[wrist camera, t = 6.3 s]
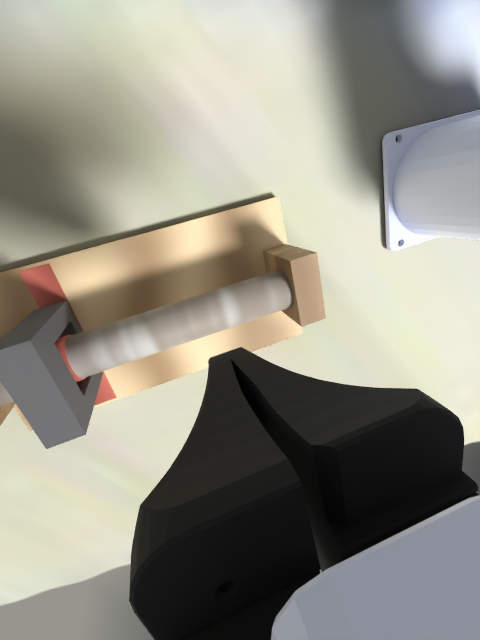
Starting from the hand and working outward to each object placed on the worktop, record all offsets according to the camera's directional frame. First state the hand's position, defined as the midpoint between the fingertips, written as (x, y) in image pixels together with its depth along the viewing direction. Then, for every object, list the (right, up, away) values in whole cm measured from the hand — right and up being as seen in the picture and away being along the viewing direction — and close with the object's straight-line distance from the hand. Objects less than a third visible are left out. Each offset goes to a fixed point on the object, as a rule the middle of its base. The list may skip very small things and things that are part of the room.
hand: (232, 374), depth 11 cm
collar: (-10, +1, +8) cm, 13 cm away
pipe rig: (-6, +2, +9) cm, 11 cm away
